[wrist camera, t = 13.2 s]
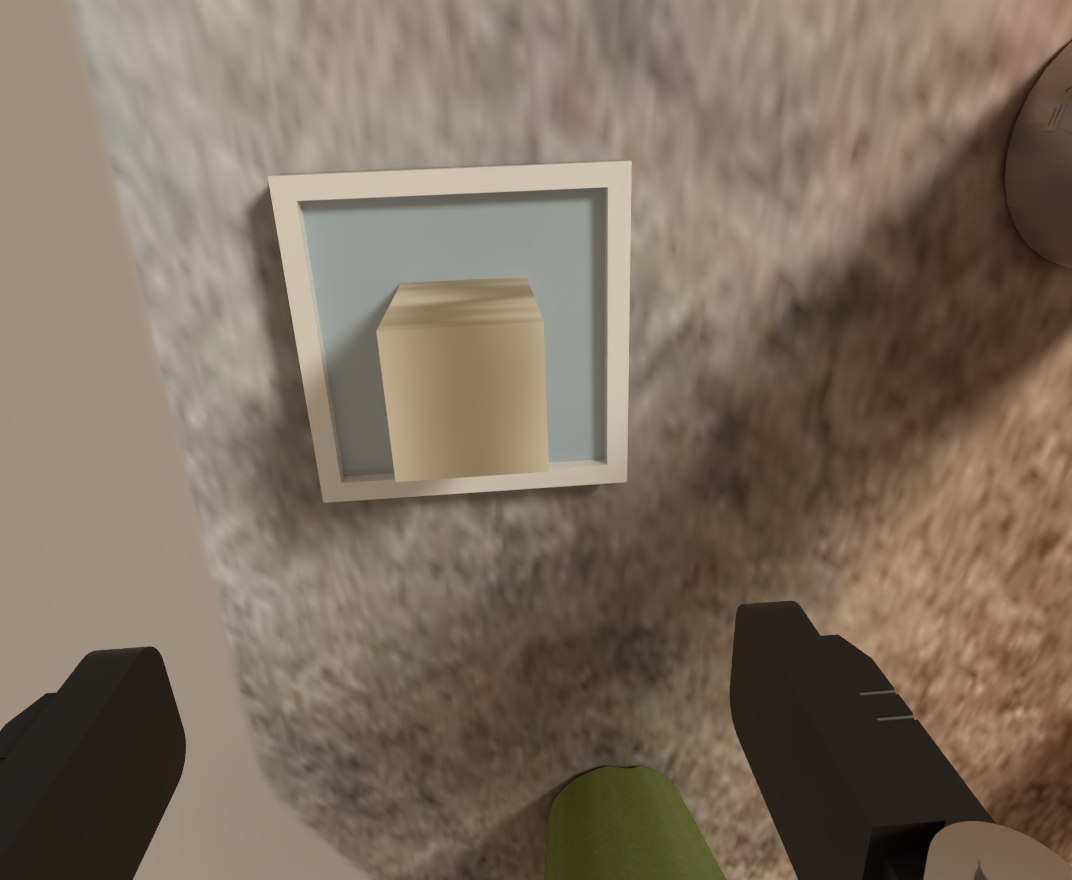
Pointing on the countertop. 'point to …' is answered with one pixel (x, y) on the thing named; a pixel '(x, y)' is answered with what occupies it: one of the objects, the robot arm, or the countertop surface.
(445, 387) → the birch block
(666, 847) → the plant pot
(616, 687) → the countertop surface
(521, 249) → the square picture frame
